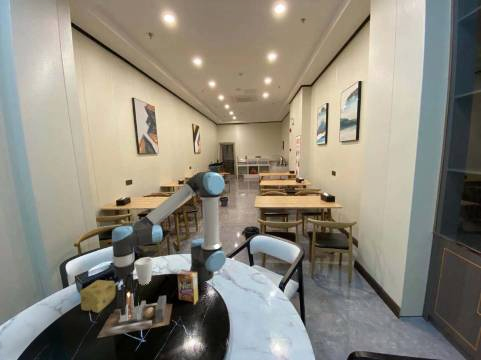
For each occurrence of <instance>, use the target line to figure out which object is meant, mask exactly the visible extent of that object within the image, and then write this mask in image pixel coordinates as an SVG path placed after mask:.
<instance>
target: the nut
mask: <svg viewBox="0 0 481 360" xmlns="http://www.w3.org/2000/svg"><path fill="white" fill-rule="evenodd" d="M154 314H155V309H154V308H152V307H150V308H148V309H147V310H146V312H145V316H146V317H147V318H151V317H153V316H154Z"/></svg>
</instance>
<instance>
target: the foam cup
mask: <svg viewBox="0 0 481 360" xmlns="http://www.w3.org/2000/svg"><path fill="white" fill-rule="evenodd" d="M134 265H135V270H136V276H137V281H138V284H139V285H140V284H141V285H140V286H145V284H146V285H148V284H150V283H151V282H150V281H152V270H153V258H152V257H150V256H146V257H141V258H139V259H136V260H134ZM149 282H150V283H149Z"/></svg>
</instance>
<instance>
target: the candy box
mask: <svg viewBox="0 0 481 360" xmlns="http://www.w3.org/2000/svg"><path fill="white" fill-rule="evenodd" d="M177 285H178V300H181V301H186V302H189V303H193V306H195V305H196V304H197V302H198V301H199V289H198V288H199V287H198V283H197V272H193V271H190V270H186V269H181V270H180V271H178V273H177Z"/></svg>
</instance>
